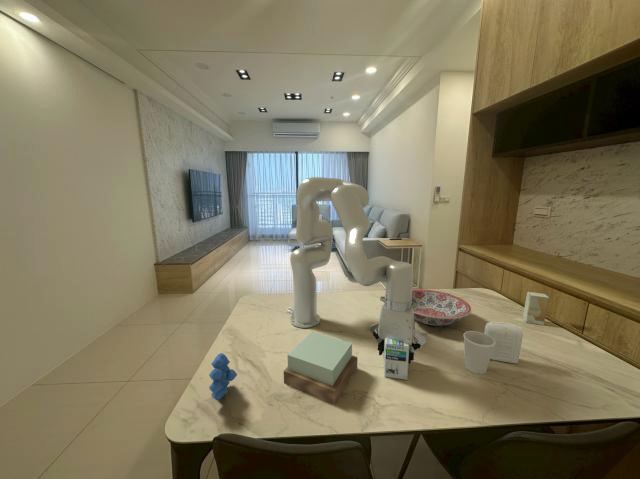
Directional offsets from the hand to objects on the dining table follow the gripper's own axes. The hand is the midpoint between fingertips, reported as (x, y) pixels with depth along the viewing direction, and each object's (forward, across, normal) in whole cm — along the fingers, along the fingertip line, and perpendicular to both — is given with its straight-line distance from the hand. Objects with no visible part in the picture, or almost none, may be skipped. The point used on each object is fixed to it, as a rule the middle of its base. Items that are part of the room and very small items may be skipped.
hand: (395, 356), depth 80 cm
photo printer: (+4, +29, +21) cm, 36 cm away
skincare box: (+4, +44, +57) cm, 72 cm away
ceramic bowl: (+4, +6, +39) cm, 40 cm away
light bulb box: (+4, 0, 0) cm, 4 cm away
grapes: (+4, -37, -33) cm, 50 cm away
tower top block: (0, -18, -14) cm, 23 cm away
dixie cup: (+4, +22, +12) cm, 25 cm away
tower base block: (+4, -18, -14) cm, 23 cm away
